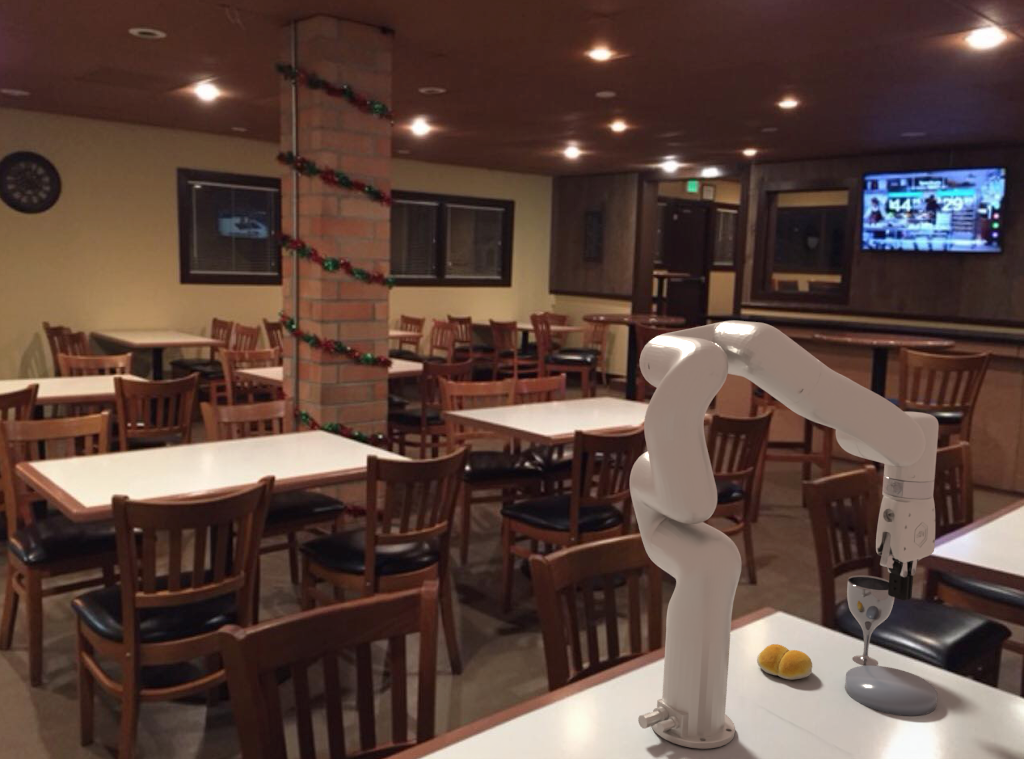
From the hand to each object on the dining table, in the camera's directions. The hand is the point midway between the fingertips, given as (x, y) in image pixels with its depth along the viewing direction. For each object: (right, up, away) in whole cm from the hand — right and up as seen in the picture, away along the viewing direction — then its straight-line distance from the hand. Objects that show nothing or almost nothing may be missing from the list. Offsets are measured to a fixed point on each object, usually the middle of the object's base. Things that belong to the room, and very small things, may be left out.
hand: (899, 597), depth 144 cm
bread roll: (-13, -16, +9) cm, 22 cm away
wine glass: (0, -16, +14) cm, 21 cm away
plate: (-1, -17, +2) cm, 17 cm away
